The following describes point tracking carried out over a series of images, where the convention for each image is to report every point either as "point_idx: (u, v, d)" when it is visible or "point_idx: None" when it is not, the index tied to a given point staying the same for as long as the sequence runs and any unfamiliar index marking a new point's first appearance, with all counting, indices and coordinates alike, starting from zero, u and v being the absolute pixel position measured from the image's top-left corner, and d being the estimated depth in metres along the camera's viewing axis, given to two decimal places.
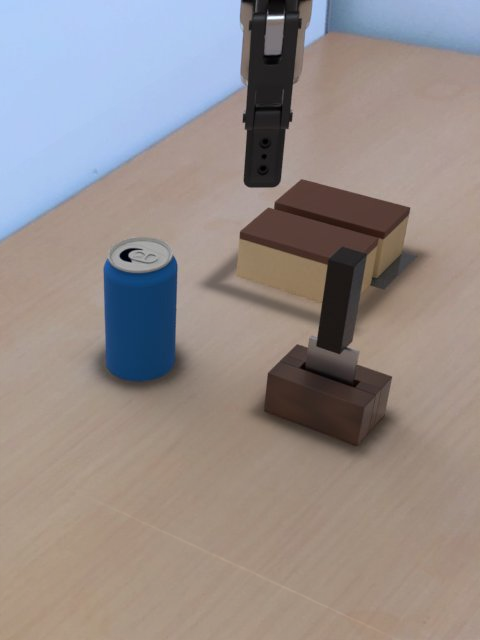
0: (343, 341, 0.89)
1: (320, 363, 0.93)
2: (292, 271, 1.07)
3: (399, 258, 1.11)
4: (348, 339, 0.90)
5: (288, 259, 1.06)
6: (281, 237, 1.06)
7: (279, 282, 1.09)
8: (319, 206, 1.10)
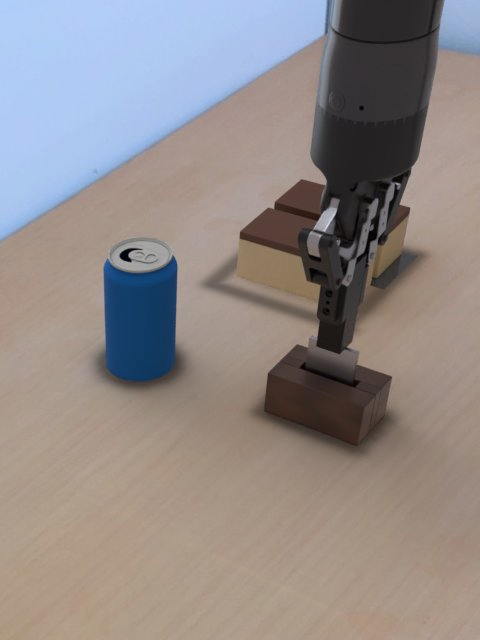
0: (343, 341, 0.89)
1: (320, 363, 0.93)
2: (292, 271, 1.07)
3: (399, 258, 1.11)
4: (348, 339, 0.90)
5: (288, 259, 1.06)
6: (281, 237, 1.06)
7: (279, 282, 1.09)
8: (319, 206, 1.10)
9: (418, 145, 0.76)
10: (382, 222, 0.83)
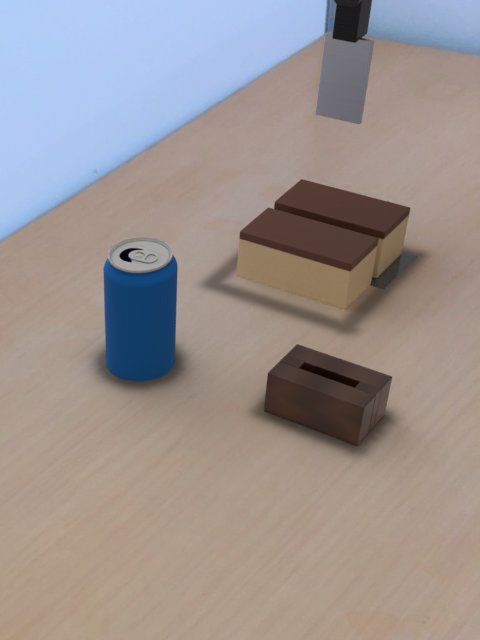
0: (359, 28, 0.92)
1: (336, 61, 0.96)
2: (292, 271, 1.07)
3: (399, 258, 1.11)
4: (363, 28, 0.93)
5: (288, 259, 1.06)
6: (281, 237, 1.06)
7: (279, 282, 1.09)
8: (319, 206, 1.10)
9: None
10: None
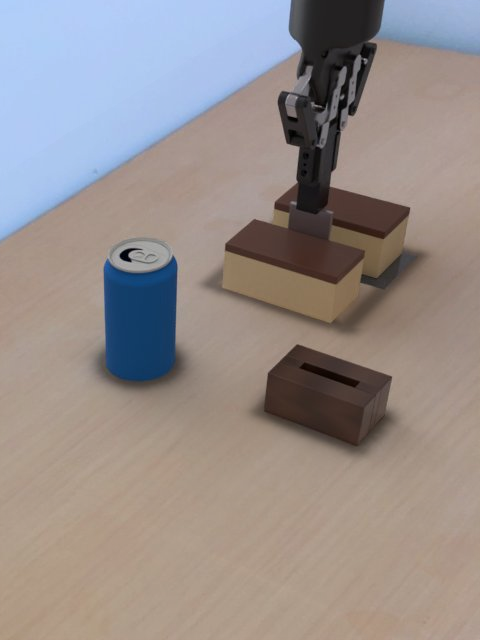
0: (319, 202, 1.03)
1: (300, 226, 1.06)
2: (278, 284, 1.06)
3: (399, 258, 1.11)
4: (323, 201, 1.03)
5: (274, 271, 1.05)
6: (267, 249, 1.05)
7: (265, 295, 1.08)
8: None
9: (379, 17, 0.90)
10: (351, 91, 0.96)
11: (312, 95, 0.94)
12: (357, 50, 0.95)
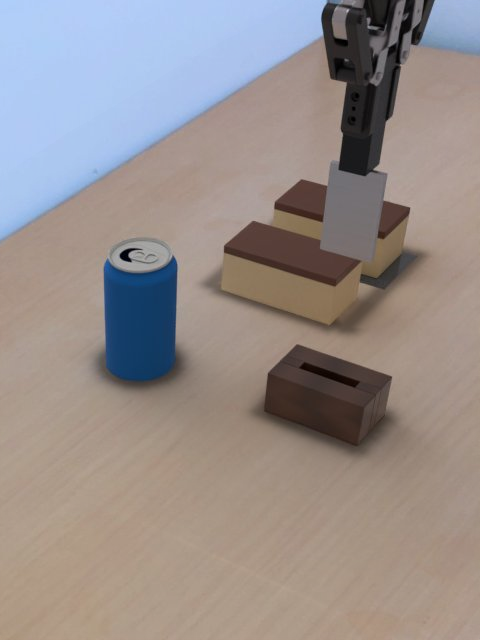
0: (370, 160, 0.79)
1: (343, 193, 0.82)
2: (277, 286, 1.06)
3: (399, 258, 1.11)
4: (375, 159, 0.79)
5: (273, 273, 1.05)
6: (265, 251, 1.05)
7: (264, 297, 1.07)
8: (319, 206, 1.10)
9: None
10: (417, 8, 0.72)
11: (367, 11, 0.70)
12: None
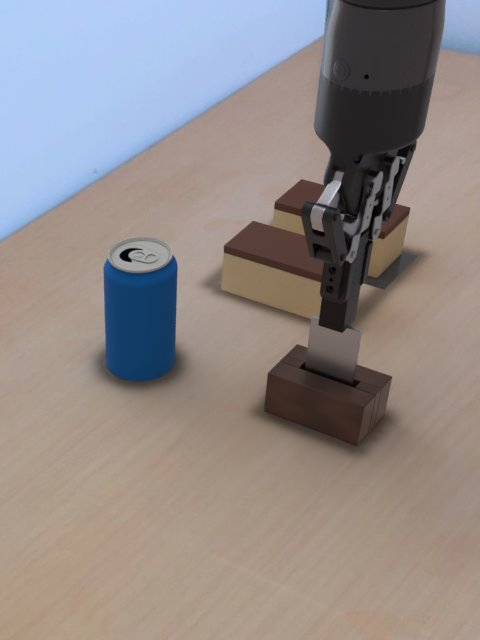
0: (346, 320, 0.88)
1: (322, 343, 0.91)
2: (277, 286, 1.06)
3: (399, 258, 1.11)
4: (351, 317, 0.88)
5: (273, 273, 1.05)
6: (265, 251, 1.05)
7: (264, 297, 1.07)
8: None
9: (424, 116, 0.75)
10: (387, 197, 0.81)
11: (341, 204, 0.79)
12: (394, 150, 0.80)
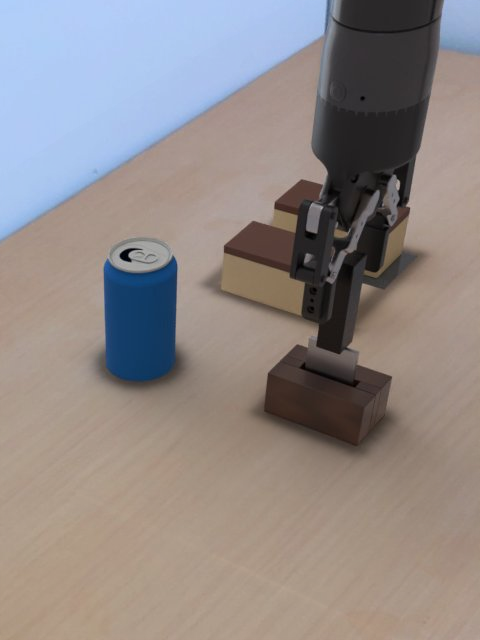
0: (343, 342, 0.89)
1: (320, 363, 0.93)
2: (277, 286, 1.06)
3: (399, 258, 1.11)
4: (348, 339, 0.90)
5: (273, 273, 1.05)
6: (265, 251, 1.05)
7: (264, 297, 1.07)
8: None
9: (420, 136, 0.76)
10: (393, 201, 0.83)
11: (339, 221, 0.80)
12: None
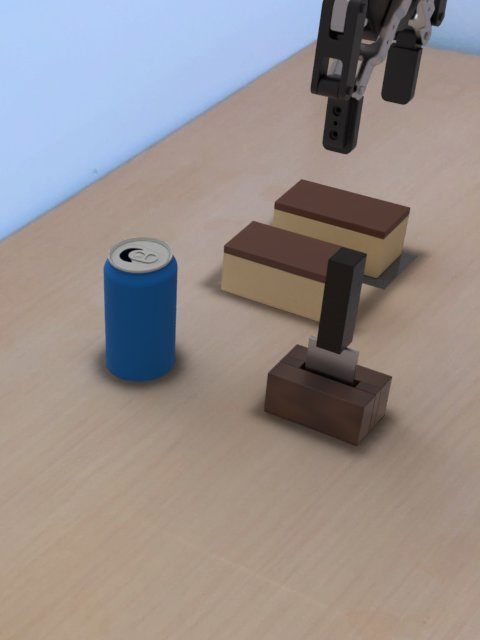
0: (343, 342, 0.89)
1: (320, 363, 0.93)
2: (277, 286, 1.06)
3: (399, 258, 1.11)
4: (348, 339, 0.90)
5: (273, 273, 1.05)
6: (265, 251, 1.05)
7: (264, 297, 1.07)
8: (319, 206, 1.10)
9: None
10: (427, 9, 0.73)
11: (367, 26, 0.70)
12: None
